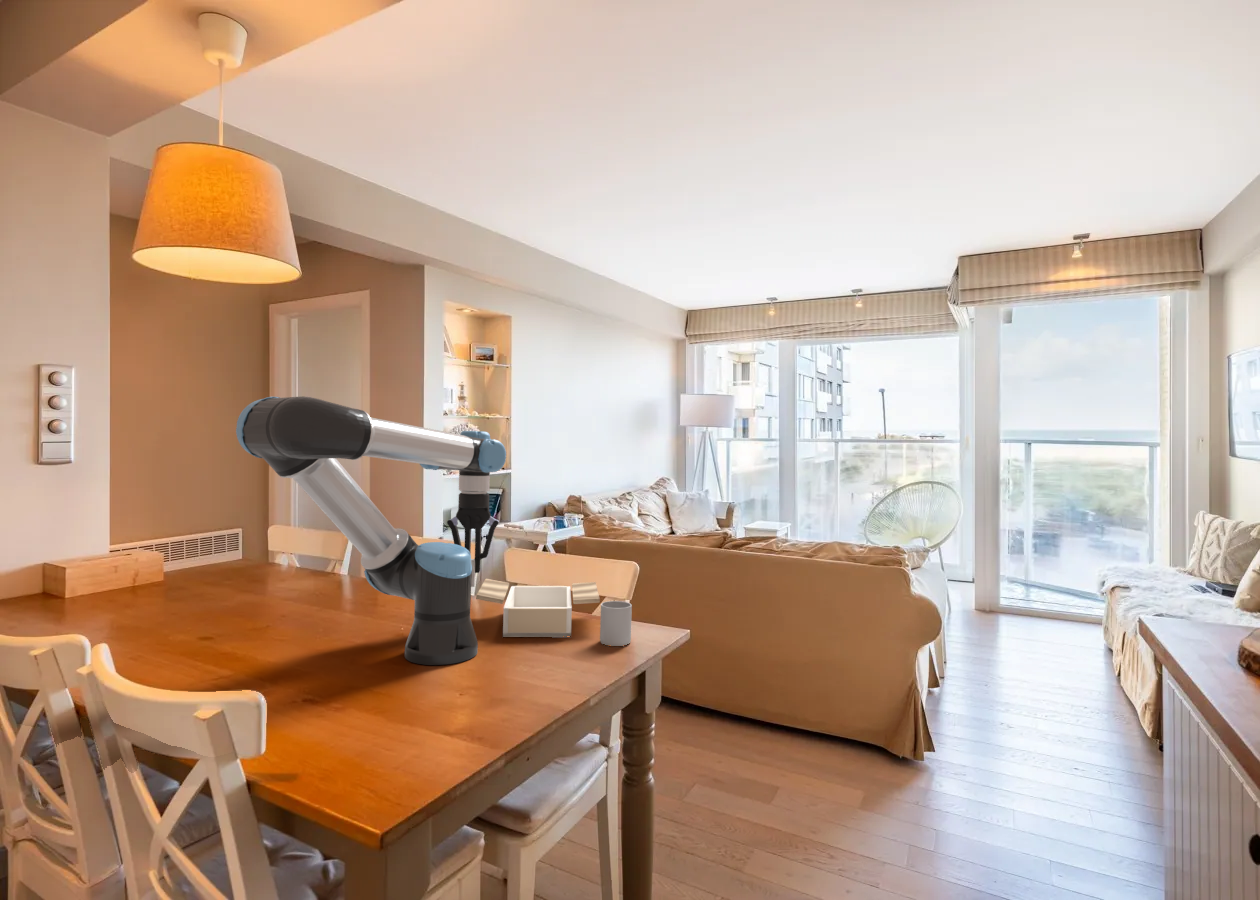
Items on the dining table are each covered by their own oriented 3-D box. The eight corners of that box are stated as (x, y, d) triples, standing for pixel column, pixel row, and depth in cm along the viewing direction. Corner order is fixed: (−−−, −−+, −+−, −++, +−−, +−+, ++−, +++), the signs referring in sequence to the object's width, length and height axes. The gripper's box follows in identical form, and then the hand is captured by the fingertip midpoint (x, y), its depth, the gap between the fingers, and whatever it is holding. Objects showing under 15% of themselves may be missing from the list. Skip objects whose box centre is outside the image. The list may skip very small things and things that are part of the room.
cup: (594, 644, 153) (595, 605, 152) (613, 633, 162) (614, 597, 162) (622, 649, 149) (623, 609, 149) (640, 637, 159) (641, 600, 158)
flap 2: (573, 600, 160) (573, 604, 160) (599, 598, 160) (599, 602, 161) (571, 583, 179) (572, 587, 179) (595, 582, 179) (595, 585, 179)
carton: (571, 638, 157) (571, 608, 157) (502, 638, 155) (503, 608, 155) (569, 611, 182) (570, 585, 182) (510, 611, 180) (511, 585, 180)
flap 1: (476, 594, 157) (475, 598, 157) (503, 599, 158) (502, 603, 158) (485, 578, 176) (485, 582, 176) (509, 583, 177) (508, 586, 177)
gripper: (501, 491, 171) (499, 582, 171) (450, 490, 170) (448, 582, 170) (498, 493, 163) (496, 589, 164) (445, 492, 162) (442, 588, 162)
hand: (471, 585), depth 167 cm, fingers closed
